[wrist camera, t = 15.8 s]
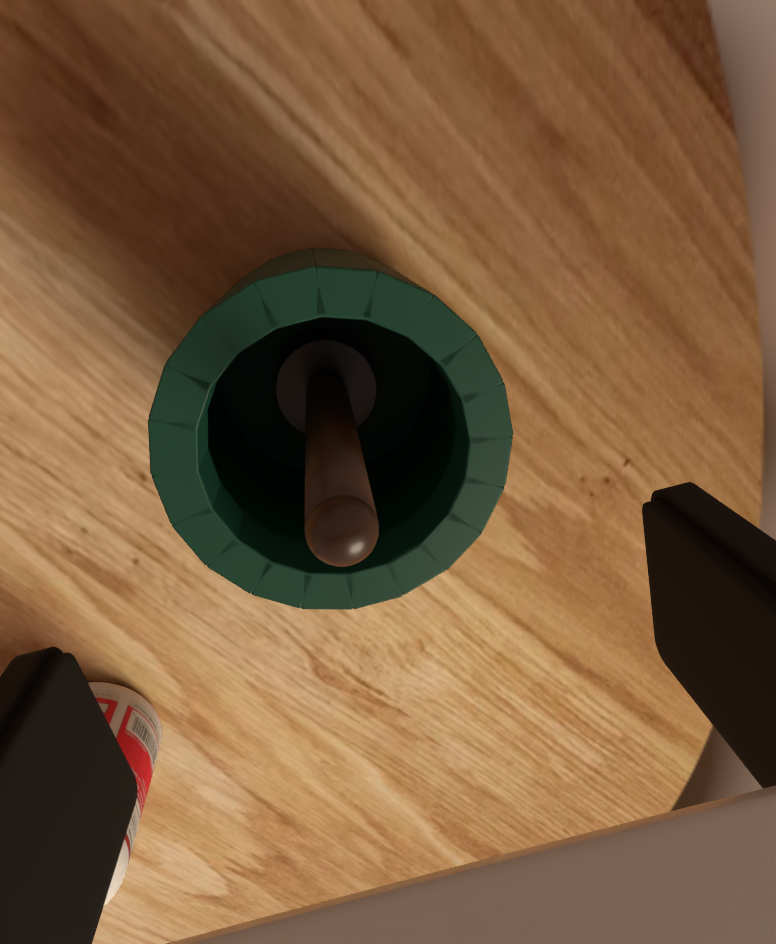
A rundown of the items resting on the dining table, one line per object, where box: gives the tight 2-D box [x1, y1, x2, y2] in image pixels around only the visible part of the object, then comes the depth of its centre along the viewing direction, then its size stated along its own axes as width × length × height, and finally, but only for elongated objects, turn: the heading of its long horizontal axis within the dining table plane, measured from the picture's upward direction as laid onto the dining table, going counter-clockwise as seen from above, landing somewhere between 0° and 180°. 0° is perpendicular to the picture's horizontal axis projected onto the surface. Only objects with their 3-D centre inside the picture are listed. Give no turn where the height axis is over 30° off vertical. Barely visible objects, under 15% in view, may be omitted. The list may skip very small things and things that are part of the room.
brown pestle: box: [274, 327, 379, 567], centre depth 21 cm, size 4×4×16 cm
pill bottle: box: [88, 682, 162, 907], centre depth 29 cm, size 6×6×11 cm
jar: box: [148, 248, 513, 609], centre depth 24 cm, size 10×10×11 cm
